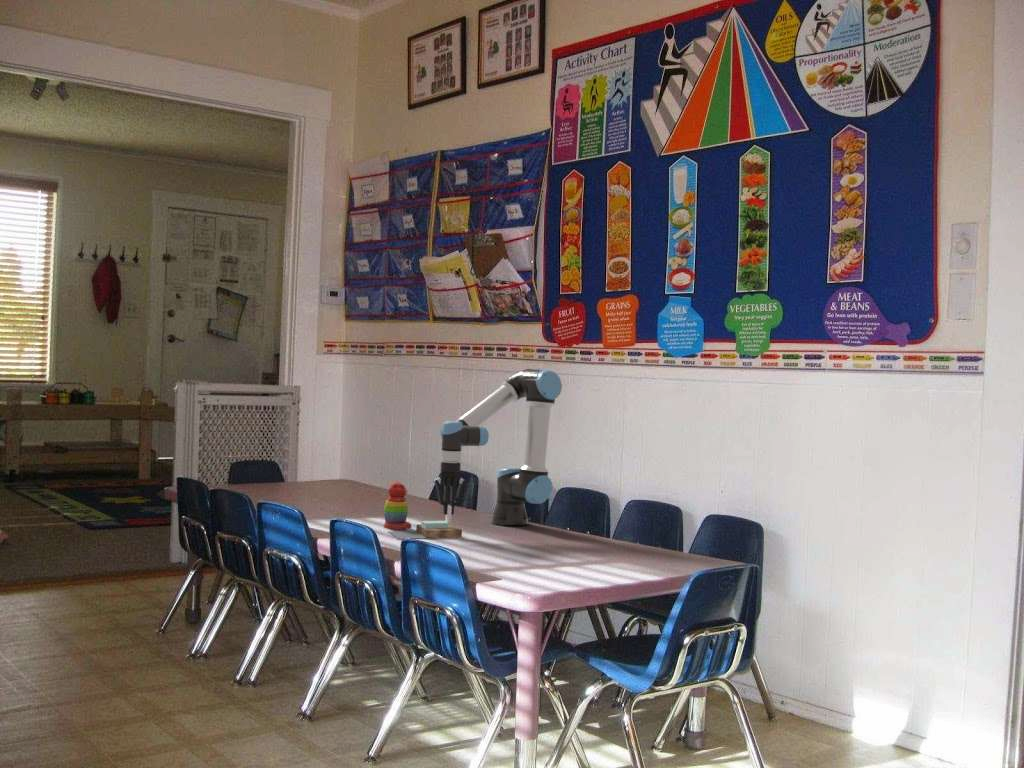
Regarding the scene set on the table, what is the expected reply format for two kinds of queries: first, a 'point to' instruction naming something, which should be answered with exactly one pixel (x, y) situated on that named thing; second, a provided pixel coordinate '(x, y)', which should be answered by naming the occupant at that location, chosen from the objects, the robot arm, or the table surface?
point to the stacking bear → (396, 508)
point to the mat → (406, 534)
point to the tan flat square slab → (440, 532)
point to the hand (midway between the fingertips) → (448, 522)
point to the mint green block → (434, 524)
